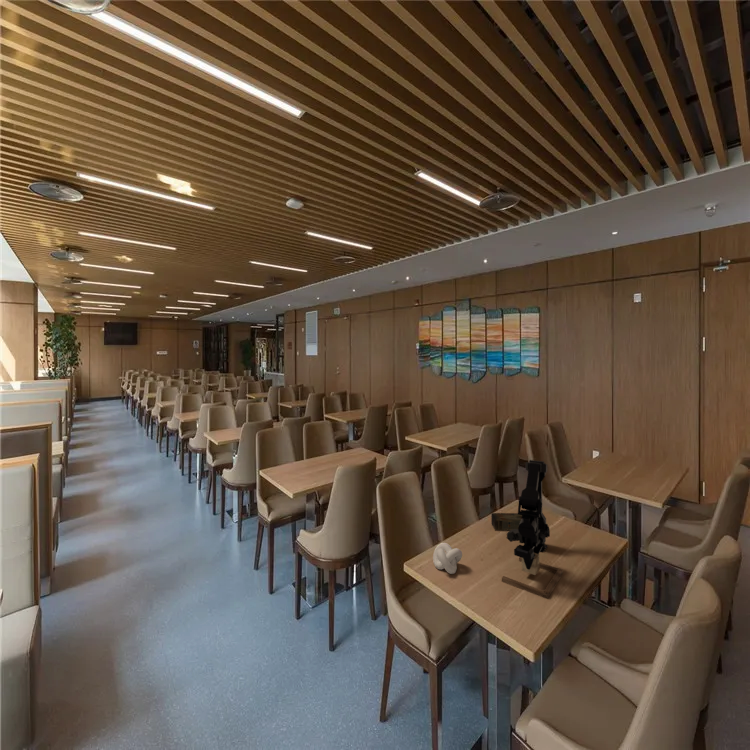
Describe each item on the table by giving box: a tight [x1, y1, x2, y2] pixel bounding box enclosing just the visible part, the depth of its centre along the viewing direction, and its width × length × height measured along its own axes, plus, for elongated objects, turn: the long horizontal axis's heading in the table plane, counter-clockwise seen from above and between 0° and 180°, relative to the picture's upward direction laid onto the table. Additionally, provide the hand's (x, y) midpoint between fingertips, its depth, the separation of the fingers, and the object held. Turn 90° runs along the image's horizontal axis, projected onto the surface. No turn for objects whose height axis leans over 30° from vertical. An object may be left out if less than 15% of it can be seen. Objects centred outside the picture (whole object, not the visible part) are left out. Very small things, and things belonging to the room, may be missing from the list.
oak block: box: [521, 553, 540, 576], centre depth 143 cm, size 5×5×6 cm
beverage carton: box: [490, 512, 522, 532], centre depth 186 cm, size 8×19×7 cm, turn 88°
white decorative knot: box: [432, 542, 463, 575], centre depth 151 cm, size 11×12×9 cm
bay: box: [501, 557, 564, 600], centre depth 143 cm, size 20×16×2 cm
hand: (530, 566), depth 143 cm, fingers closed on oak block, 5 cm apart
